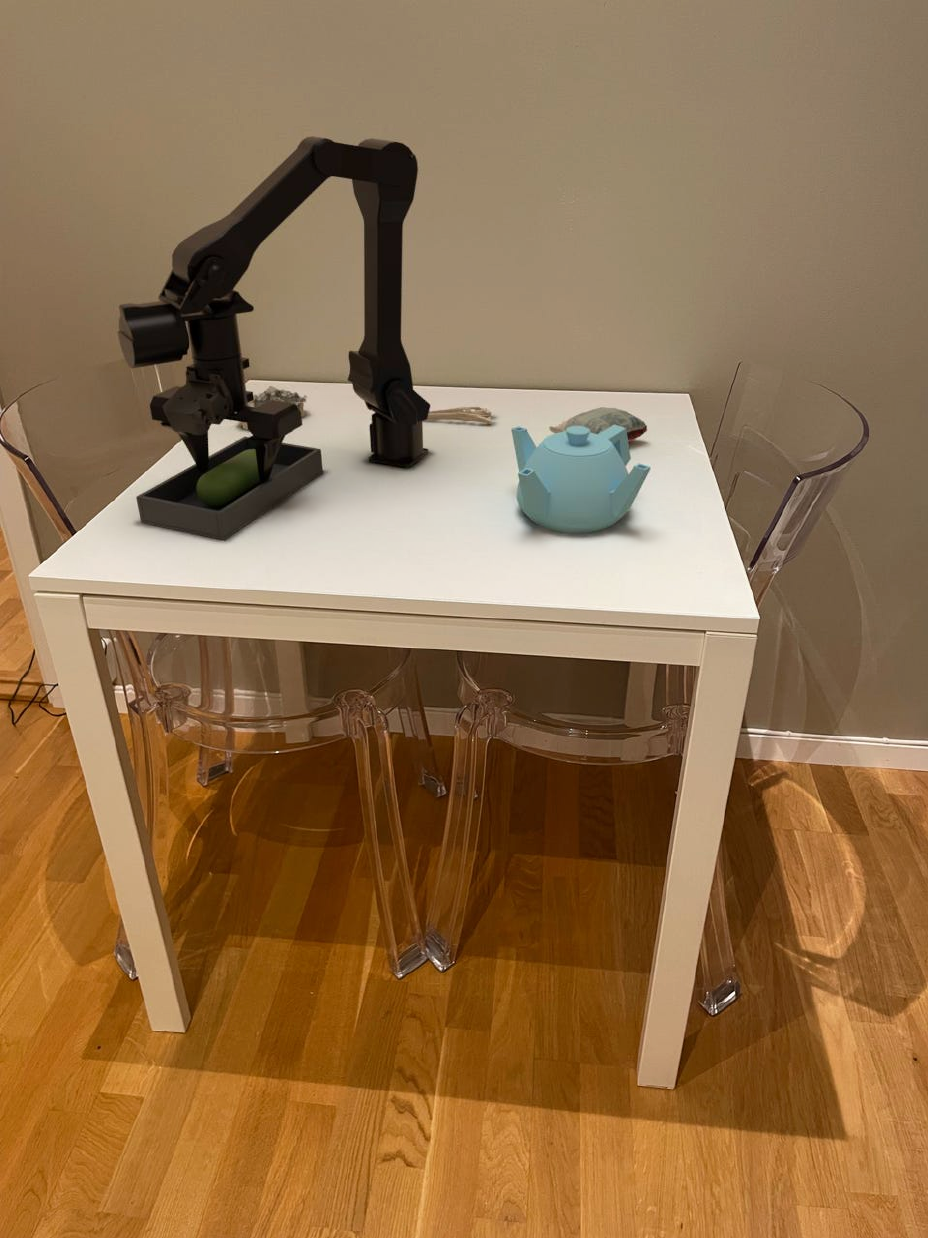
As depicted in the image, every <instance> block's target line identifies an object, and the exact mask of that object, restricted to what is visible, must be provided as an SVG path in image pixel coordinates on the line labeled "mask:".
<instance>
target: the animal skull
mask: <svg viewBox="0 0 928 1238" xmlns="http://www.w3.org/2000/svg"><path fill="white" fill-rule="evenodd" d="M427 420H429V421H430V420H432V421H433V420H435V421H436V420H438V421H439V420H441V421H462V422H476V423H482V424H489V425H491V424H492V411H491V410H489V409H488V408H483V407H480V406H458V407H453V408H445V409H438V410H437V409H436V410H431V411H430V410H429V414H428V417H427ZM427 420H426V421H427Z"/></svg>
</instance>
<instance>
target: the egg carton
mask: <svg viewBox="0 0 928 1238" xmlns="http://www.w3.org/2000/svg"><path fill="white" fill-rule="evenodd" d="M253 397H254V400H253V401H251V402H249V403H248V406H249V407H255V408H257V407H259V406H261V405H262V404H264V403H266V402H268V401H270V400H275V401H282V402H289V403H295V404H296V405H297V406H298V407H299V409H300V411H301V417H302V418H304V417H305V416H306V415H305V410H304V406H305V403H307V398H308V396H307V395H303V396H301V395H299V393H298V392H297V391H295V392H292V391H290V390H285V389H283V388H282V389H279V388H277V387H275V386H272V385H270V386H268V387H267V388H266V389H265V390H264V391H263V392H260V393H258V395H257V394H253ZM240 425H241V426H242V428H243V429H244V430H248V427H247V423H246V422H240ZM248 431H249V430H248Z"/></svg>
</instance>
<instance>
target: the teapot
mask: <svg viewBox="0 0 928 1238" xmlns="http://www.w3.org/2000/svg"><path fill="white" fill-rule="evenodd" d="M511 435H512V441H513V447H514V451H515V457H516V462H517V468H518V469H517V470H518V473H517V476H518V484H517V488H516V501H517V504H518V506H519V507H520V509H521V511H523V513H524V514H525V515H526V516H527V518H529V519H530V520H531V521H532V522H533V523H534V524H537V525H538V526H540V527H542V528H545V529H548V530H552V531H556V532H562V533H571V534H582V533H583V534H584V533H593V532H598V531H602V530H605V529H608V528H609V527H612V526H613V525H615V524H616V523H617V522H619V520H620V519H622V518H623V517H624V516H625V515H626V514H627V513H628V511H629V510H630V509H631V508H632V506H633V504H634V502H635V499H636V498H637V496H638V494H639V492H640V490H641V488H642V486H643V484H644V482H645V480H646V478H647V477H648V474H649V473H650V471H651V466H649V465H647V464H643V463H640V462H639V463H637V464H634V465H633V466H632V469H631V470H630V471H628V469H627V466H628V464H629V462H630V461H631V459H632V458H631V457H632V456H631V451H630V445H629V442H628V437H627V431H626V428H624V427H621V426H618V425H615V424H614V425H613V426H611V427H609V428H608V429H606V430H604V431H603V432H601V433H600V434H594V433H590V429H588V428H586V427H583V426H571V427H568V428H567V429H566V432H560V433H553V434H550V435H548V436H546V437H545V438H544V439H543V440H542V441H541V442H540V443H539V444H538V446H537V445H536V443H535V442H534V440H533V439H532V437H531V435H530V433H529V432H528V428H526V427H522V426H519V425H518V426H515V427H512V428H511Z"/></svg>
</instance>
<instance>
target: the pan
mask: <svg viewBox="0 0 928 1238" xmlns="http://www.w3.org/2000/svg"><path fill="white" fill-rule="evenodd" d="M249 437H250V436H243V437H241V438H240V439H238V440H235V441H234V442H232V443H231V444H228V445H227V446H225V447H223V448H221V449H220V450H218V451H216V452H214V453H212V454H210V455H209V463H208V471H210V470H212V469H214V468H215V467H217V466H219V465H220V464H222V463H224V462H226V461H227V460H229V459H231V458H233V457H234V456H236V455H238V454H240V453H241V452H243V451H245V450H249V449H255V446H254V445H253V444H252V443H251V442H250V441H249V440H248V438H249ZM322 459H323V458H322V449H321V448H319V447H318V448H317V447H313V446H312V447H311V446H304V445H299V444H293V443H287V442H282V444H281V446H280V448H279V451H278V454H277V456H276V459H275V462H274V465H273V468H272V471H271V474H270V477H269V480H267V481H266V482H264V483H262V484H261V482H259V483H258V484H256V485H255V486H253V487H251V488H250V489H248V490H247V491H245V492H244V493H242V494H240V495H239V496H237V497H236V498H234V499H233V500H231V501H229V502H228V503H226V504H225V505H222V506H219V507H211V506H208V505H206V504H205V503H203V502H202V501H201V500H200V498H199V497H198V495H197V490H196V486H197V482H198V480H199V479H200V477H201V476H202V475H203V474H205V473H207V472H208V471H206V472H204V473H201V472H200V470H199V469H198V467H197V465H196V463H194V464H192V465H191V466H189V467H187V468H185V469H184V470H181V471H180V472H178V473H176V474H174V475H173V476H171V477H169V478H167V479H166V480H164V481H162V482H160V483H159V484H156V485H155V486H153V487H151V488H149V489H148V490H146V491H143V492H142V493H140V494H139V495H137V496H136V497H135V499H136V503H137V507H138V508H137V509H138V514H139V519H140V523H142V524H147V525H150V526H156V527H161V528H166V529H170V530H173V531H178V532H184V533H188V534H193V535H198V536H202V537H208V538H211V539H212V538H213V539H217V540H220V541H221V540H222V541H225V540H227V539H228V538H229V537H231V536H232V535H234V534H235V533H237V532H239V531H240V530H241V529H243V528H245V526H247V525H249V524H250V523H252V522H253V521H254V520H256V519H257V518H259V517H260V516H262V515H263V514H265V513H266V512H268V511H269V510H271V509H272V508H273V507H276V505H278V504H279V503H281V502H283V501H284V500H285V499H287V498H288V497H289V496H291V495H293V494H294V493H295V492H297V491H299V490H300V489H301V488H303V487H305V485H307V484H309V483H310V482H311V481H313V480H315V479H317V477H319V476H320V475H322V474H323V473H324V471H323V460H322Z"/></svg>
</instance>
